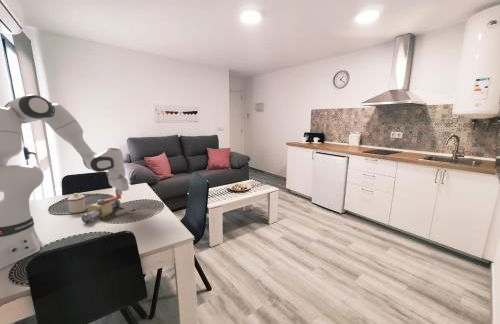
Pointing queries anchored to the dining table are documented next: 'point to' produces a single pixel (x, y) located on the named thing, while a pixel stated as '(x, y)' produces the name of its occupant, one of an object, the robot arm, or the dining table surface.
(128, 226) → the dining table surface
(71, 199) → the teacup with lid
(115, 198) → the valve lever
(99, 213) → the valve pipe
